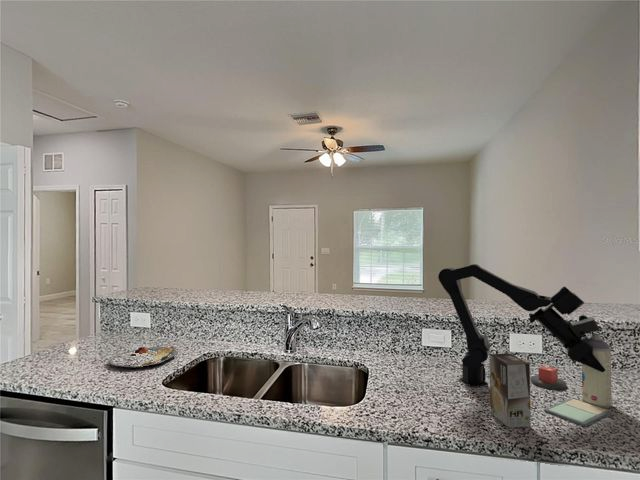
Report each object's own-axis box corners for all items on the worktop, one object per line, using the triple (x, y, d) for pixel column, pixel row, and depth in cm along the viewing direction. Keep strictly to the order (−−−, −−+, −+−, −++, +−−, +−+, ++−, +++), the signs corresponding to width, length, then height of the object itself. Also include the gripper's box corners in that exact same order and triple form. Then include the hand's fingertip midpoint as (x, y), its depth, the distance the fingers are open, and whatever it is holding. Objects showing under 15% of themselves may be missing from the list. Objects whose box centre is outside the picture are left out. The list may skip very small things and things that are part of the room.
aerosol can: (585, 396, 112) (584, 330, 112) (614, 403, 107) (613, 334, 107) (579, 403, 108) (578, 334, 108) (609, 411, 103) (608, 338, 103)
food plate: (140, 349, 166) (140, 342, 166) (187, 353, 161) (187, 345, 161) (96, 370, 141) (96, 361, 141) (150, 374, 137) (150, 365, 137)
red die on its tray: (557, 392, 116) (556, 375, 116) (524, 382, 124) (524, 366, 124) (572, 385, 121) (571, 369, 121) (540, 376, 130) (540, 361, 130)
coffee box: (532, 427, 94) (531, 363, 94) (508, 428, 94) (507, 364, 94) (510, 410, 103) (510, 352, 103) (488, 412, 103) (488, 353, 103)
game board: (570, 400, 110) (570, 397, 110) (610, 413, 101) (610, 410, 101) (544, 411, 103) (544, 408, 103) (584, 426, 94) (584, 423, 94)
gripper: (581, 312, 102) (634, 359, 96) (576, 303, 118) (621, 342, 112) (548, 338, 106) (597, 384, 100) (547, 325, 122) (589, 364, 116)
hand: (602, 367), depth 107 cm, fingers closed on aerosol can, 7 cm apart
